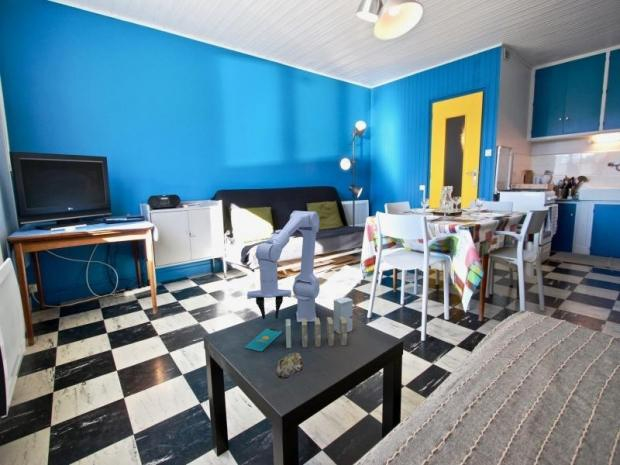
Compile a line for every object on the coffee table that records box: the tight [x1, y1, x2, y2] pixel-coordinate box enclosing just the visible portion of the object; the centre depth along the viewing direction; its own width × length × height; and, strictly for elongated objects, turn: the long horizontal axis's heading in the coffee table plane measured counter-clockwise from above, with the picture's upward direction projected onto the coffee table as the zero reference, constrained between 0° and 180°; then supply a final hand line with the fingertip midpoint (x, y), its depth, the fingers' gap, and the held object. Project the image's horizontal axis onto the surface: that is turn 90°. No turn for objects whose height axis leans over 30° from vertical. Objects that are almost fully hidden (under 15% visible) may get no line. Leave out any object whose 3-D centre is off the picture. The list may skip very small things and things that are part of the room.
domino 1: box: [285, 318, 292, 349], centre depth 105 cm, size 2×5×8 cm, turn 5°
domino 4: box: [326, 316, 335, 347], centre depth 106 cm, size 2×5×8 cm, turn 4°
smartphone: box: [244, 328, 283, 353], centre depth 109 cm, size 7×1×15 cm
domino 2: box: [301, 318, 308, 348], centre depth 105 cm, size 2×5×8 cm, turn 4°
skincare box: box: [333, 296, 354, 335], centre depth 114 cm, size 6×4×12 cm
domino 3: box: [313, 317, 322, 347], centre depth 106 cm, size 2×5×8 cm, turn 4°
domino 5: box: [339, 317, 348, 346], centre depth 106 cm, size 2×5×8 cm, turn 4°
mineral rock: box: [276, 352, 304, 379], centre depth 92 cm, size 11×4×8 cm
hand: (270, 317), depth 104 cm, fingers open, 4 cm apart
